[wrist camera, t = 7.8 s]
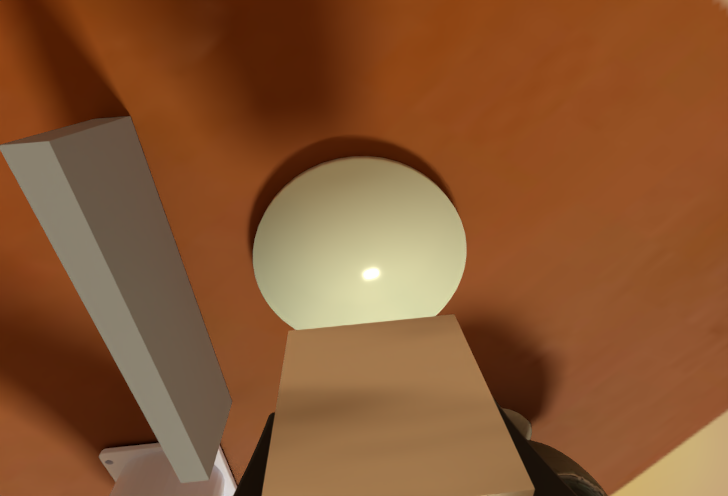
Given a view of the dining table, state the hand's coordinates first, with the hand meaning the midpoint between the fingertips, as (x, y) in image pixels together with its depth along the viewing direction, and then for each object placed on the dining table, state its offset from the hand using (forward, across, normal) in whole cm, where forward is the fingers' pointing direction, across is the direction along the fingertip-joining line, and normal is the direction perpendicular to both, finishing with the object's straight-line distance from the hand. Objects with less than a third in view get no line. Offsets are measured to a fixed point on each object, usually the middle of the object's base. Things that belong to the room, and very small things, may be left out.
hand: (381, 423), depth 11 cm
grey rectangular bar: (+10, +10, +1) cm, 14 cm away
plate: (+10, 0, 0) cm, 10 cm away
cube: (+2, 0, 0) cm, 2 cm away
